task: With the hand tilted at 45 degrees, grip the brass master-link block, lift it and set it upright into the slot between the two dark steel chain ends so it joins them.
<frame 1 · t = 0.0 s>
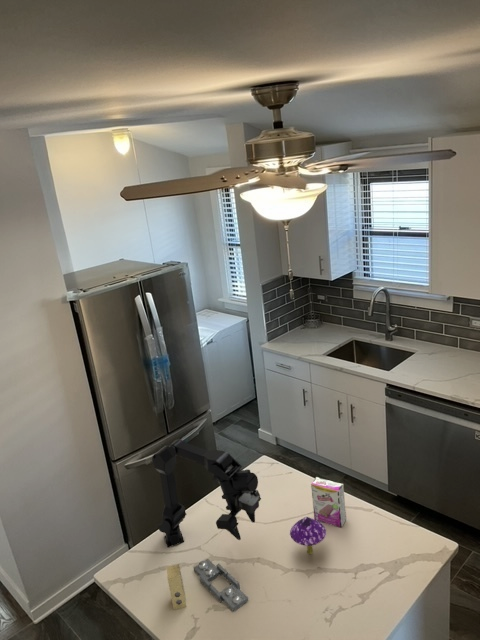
hand: (246, 530, 174), 15 cm above the counter, tool pointing down, fingers open, 9 cm apart
candy bar box: (330, 521, 196), on the counter
decorative mushroom: (310, 553, 182), on the counter
chain ends: (220, 585, 173), on the counter
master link: (179, 602, 169), on the counter
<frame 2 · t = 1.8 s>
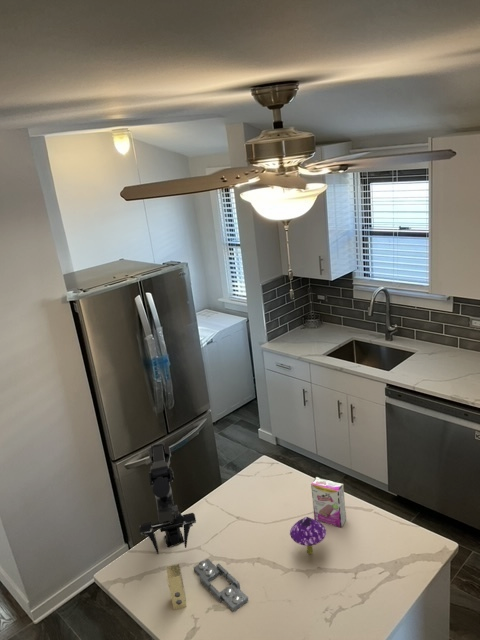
hand: (172, 550, 172), 13 cm above the counter, tool tilted 45°, fingers open, 9 cm apart
nothing on the counter moved.
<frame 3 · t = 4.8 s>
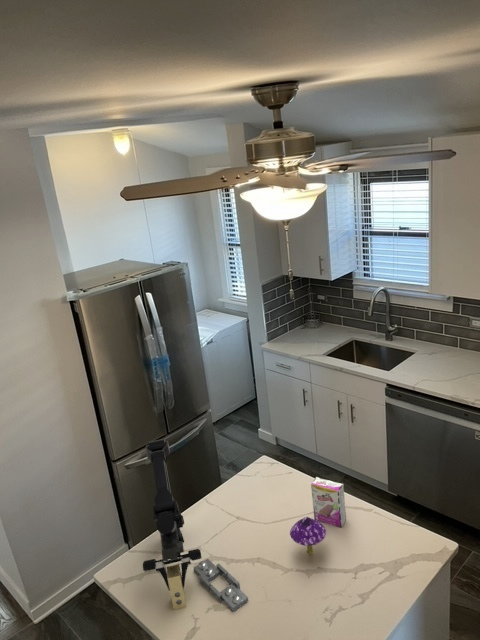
hand: (176, 589, 165), 7 cm above the counter, tool tilted 45°, fingers closed on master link, 4 cm apart
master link: (179, 602, 169), on the counter, touching gripper
everything else where it was.
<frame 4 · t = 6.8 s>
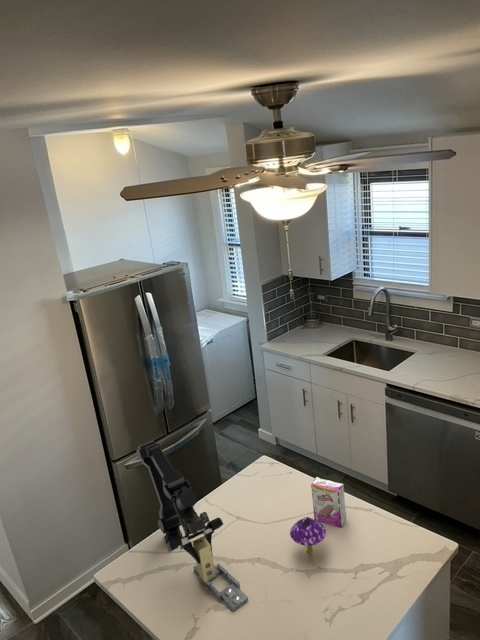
hand: (205, 560, 166), 13 cm above the counter, tool tilted 45°, fingers closed on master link, 4 cm apart
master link: (206, 574, 169), point 7 cm above the counter, touching gripper
everything else where it was.
when the fingers open (7 cm above the counter, at t = 8.9 s): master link stays where it is, resting in chain ends.
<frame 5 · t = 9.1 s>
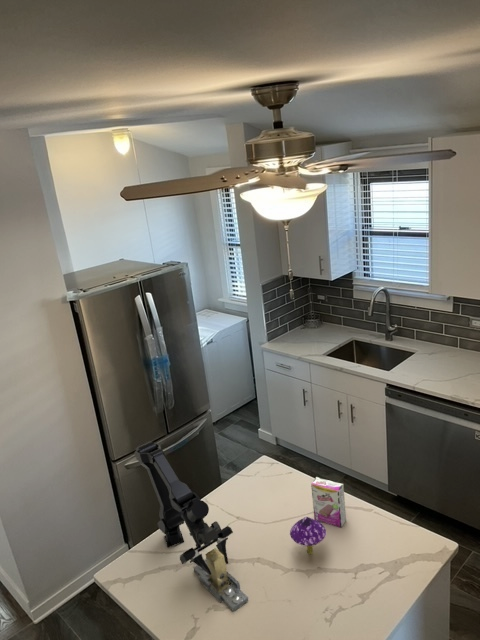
hand: (219, 569, 170), 8 cm above the counter, tool tilted 45°, fingers open, 6 cm apart
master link: (219, 585, 173), resting in chain ends
everything else where it was.
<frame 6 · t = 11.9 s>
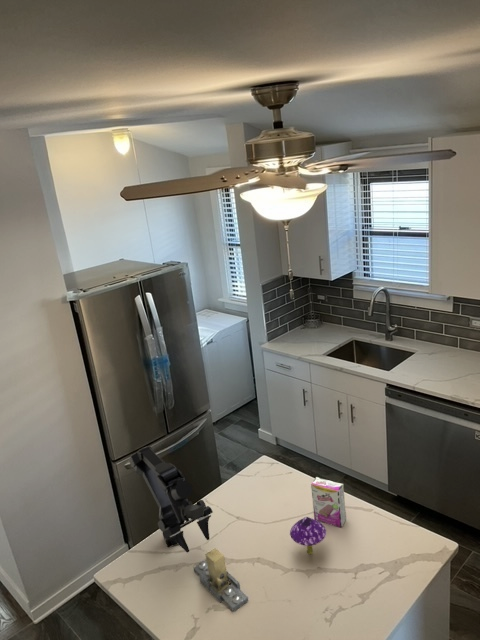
hand: (198, 545, 177), 11 cm above the counter, tool tilted 40°, fingers open, 9 cm apart
nothing on the counter moved.
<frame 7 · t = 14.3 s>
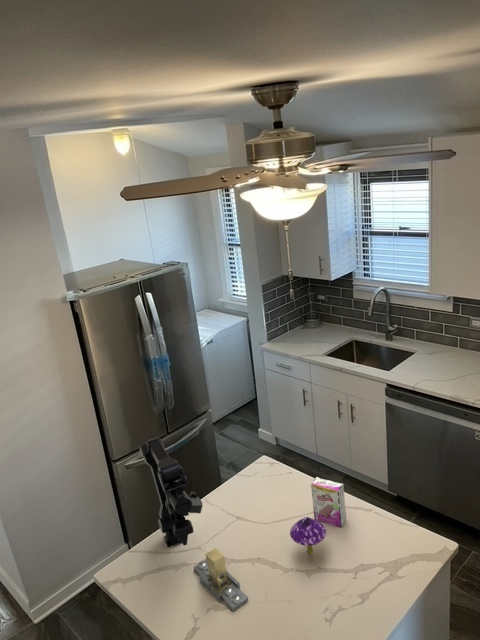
hand: (182, 536, 179), 13 cm above the counter, tool pointing down, fingers open, 9 cm apart
nothing on the counter moved.
at the end: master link 0.1 cm off-centre on the chain ends, point 0.0 cm above the chain ends's base; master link tilted 0°; the gripper is holding nothing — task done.
